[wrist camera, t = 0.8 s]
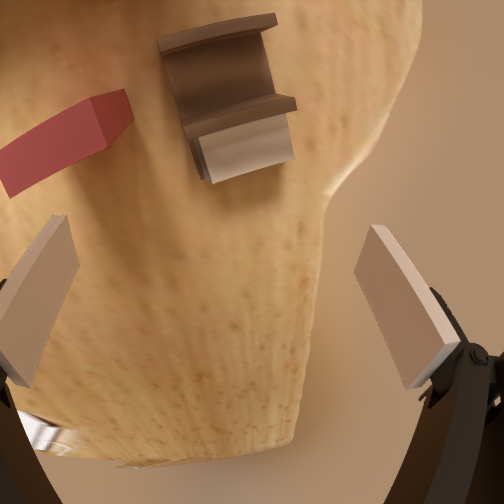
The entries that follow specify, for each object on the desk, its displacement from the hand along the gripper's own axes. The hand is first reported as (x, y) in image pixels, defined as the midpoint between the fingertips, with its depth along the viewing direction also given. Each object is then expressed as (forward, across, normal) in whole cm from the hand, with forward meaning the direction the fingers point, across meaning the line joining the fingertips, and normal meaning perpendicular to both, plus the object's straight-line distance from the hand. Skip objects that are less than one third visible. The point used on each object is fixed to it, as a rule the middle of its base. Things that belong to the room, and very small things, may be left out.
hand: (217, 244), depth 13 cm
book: (+21, -14, +1) cm, 25 cm away
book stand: (+23, 0, +3) cm, 23 cm away
